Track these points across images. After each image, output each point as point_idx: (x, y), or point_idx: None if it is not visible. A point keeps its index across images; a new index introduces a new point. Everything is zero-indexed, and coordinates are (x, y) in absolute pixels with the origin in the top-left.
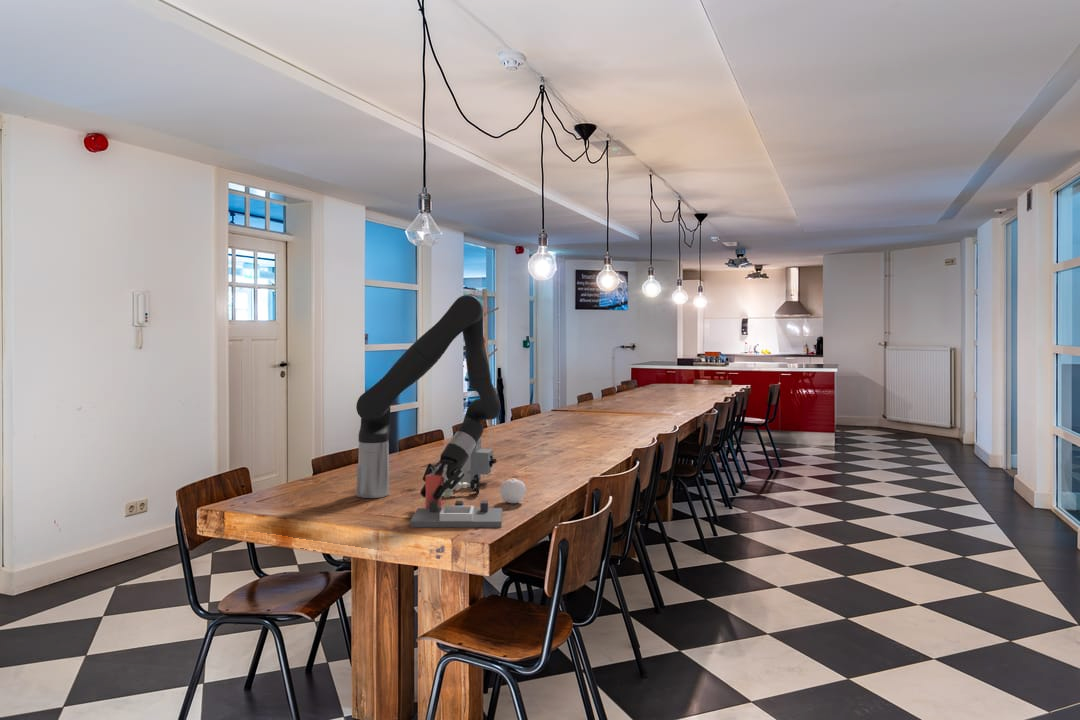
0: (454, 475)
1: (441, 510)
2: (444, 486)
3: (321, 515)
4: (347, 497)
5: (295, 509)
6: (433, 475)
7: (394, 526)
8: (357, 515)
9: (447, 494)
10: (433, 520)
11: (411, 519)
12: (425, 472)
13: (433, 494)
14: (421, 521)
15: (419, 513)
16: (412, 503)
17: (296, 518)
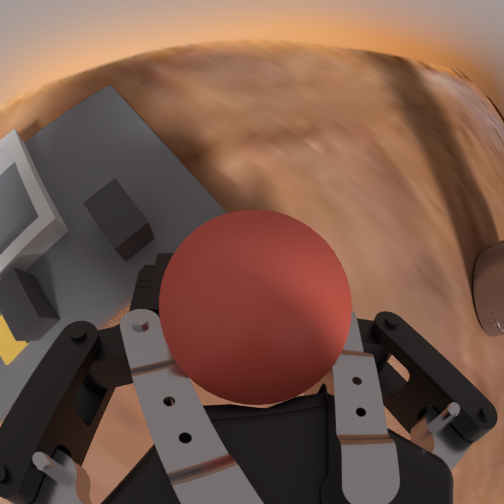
0: (22, 409)
1: (24, 159)
2: (118, 329)
3: (390, 84)
4: (495, 232)
5: (446, 106)
6: (271, 310)
7: (162, 80)
8: (348, 107)
9: None
10: (46, 136)
11: (120, 97)
12: (438, 357)
13: (168, 256)
14: (76, 105)
15: (149, 158)
16: None
17: (389, 60)
